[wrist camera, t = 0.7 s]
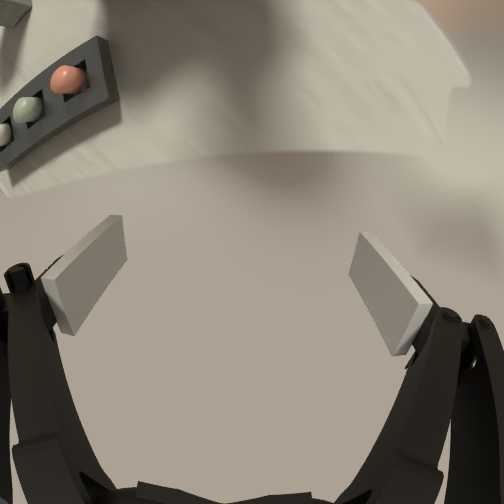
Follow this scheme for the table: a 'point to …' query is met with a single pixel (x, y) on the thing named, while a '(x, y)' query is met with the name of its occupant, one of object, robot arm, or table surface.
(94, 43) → the panel
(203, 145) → the table surface
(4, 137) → the white glossy ball
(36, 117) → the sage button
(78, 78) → the coral button
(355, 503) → the robot arm
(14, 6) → the skincare box
